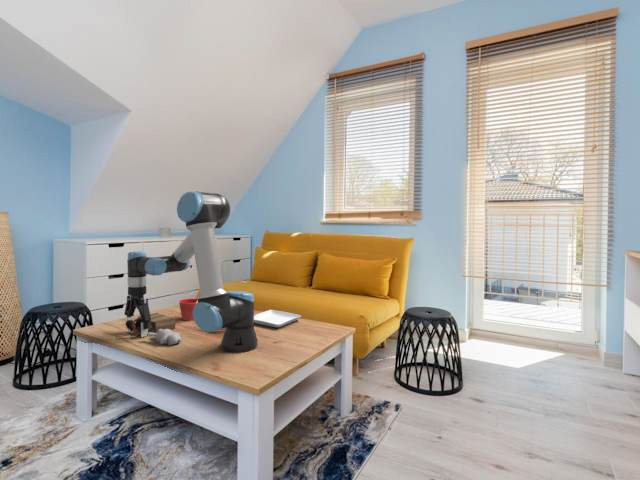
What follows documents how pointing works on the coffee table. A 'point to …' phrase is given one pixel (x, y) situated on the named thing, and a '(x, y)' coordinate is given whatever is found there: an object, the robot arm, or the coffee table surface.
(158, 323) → the walnut block
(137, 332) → the pottery mug
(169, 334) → the bunny figurine
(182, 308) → the flower pot
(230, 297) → the robot arm
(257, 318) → the salad plate
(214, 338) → the coffee table surface
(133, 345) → the coffee table surface
